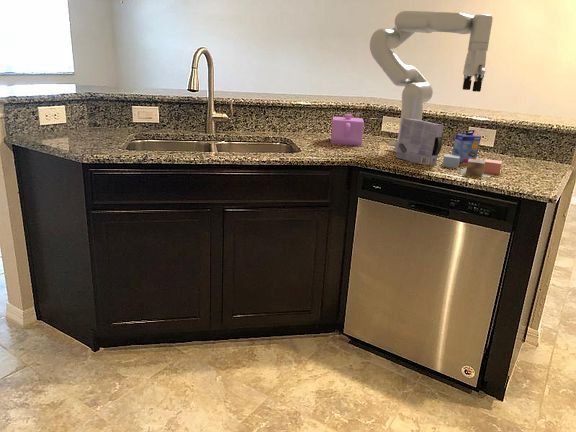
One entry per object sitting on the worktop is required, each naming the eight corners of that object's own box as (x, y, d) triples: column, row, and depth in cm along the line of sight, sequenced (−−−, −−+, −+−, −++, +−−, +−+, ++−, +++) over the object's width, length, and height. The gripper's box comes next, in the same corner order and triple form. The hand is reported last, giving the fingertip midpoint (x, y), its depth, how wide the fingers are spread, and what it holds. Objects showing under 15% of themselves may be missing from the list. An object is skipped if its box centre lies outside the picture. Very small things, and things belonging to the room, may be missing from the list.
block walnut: (465, 174, 182) (467, 161, 181) (466, 170, 188) (469, 158, 186) (482, 176, 180) (484, 163, 179) (482, 173, 185) (485, 160, 184)
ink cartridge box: (458, 164, 202) (464, 130, 197) (449, 161, 207) (455, 128, 202) (476, 163, 206) (482, 130, 201) (467, 160, 211) (473, 128, 206)
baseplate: (459, 175, 184) (460, 173, 183) (461, 171, 190) (461, 169, 189) (487, 179, 180) (487, 177, 180) (488, 175, 186) (488, 173, 186)
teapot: (359, 138, 250) (362, 112, 245) (361, 147, 226) (365, 118, 221) (331, 136, 251) (333, 110, 246) (330, 145, 227) (332, 116, 223)
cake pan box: (439, 166, 196) (446, 124, 191) (431, 167, 193) (438, 124, 188) (402, 157, 210) (407, 117, 204) (395, 158, 207) (400, 117, 201)
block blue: (441, 168, 194) (443, 156, 193) (443, 165, 199) (445, 153, 198) (457, 170, 192) (459, 158, 190) (458, 167, 197) (460, 155, 195)
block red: (482, 173, 188) (485, 161, 187) (483, 170, 194) (485, 159, 192) (498, 176, 186) (501, 163, 184) (499, 173, 191) (501, 161, 190)
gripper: (460, 47, 200) (454, 88, 205) (478, 46, 183) (471, 91, 189) (477, 47, 200) (470, 89, 206) (497, 47, 184) (489, 92, 189)
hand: (471, 90), depth 197 cm, fingers open, 9 cm apart
